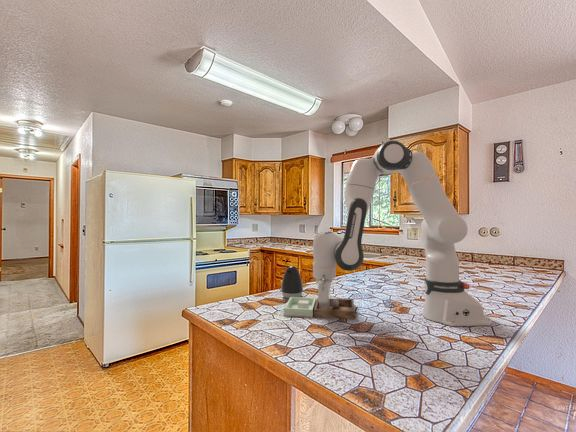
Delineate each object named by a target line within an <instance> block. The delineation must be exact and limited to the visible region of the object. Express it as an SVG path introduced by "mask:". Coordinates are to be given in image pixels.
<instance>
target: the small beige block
mask: <svg viewBox="0 0 576 432" xmlns="http://www.w3.org/2000/svg"><path fill="white" fill-rule="evenodd" d="M298 308H302V309H309V301H306V300H299V302H298Z"/></svg>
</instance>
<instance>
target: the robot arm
mask: <svg viewBox="0 0 576 432" xmlns="http://www.w3.org/2000/svg"><path fill="white" fill-rule="evenodd" d="M396 172H397V173H398V174H399V175H401V176H402V178H403V179H404V182H405V184H406V186H407V189H408V191H409V193H410V196H411V199H412V201H413V203H414V206H415V207H416V208H417V210H418V211H419V213H420V214H421V215H422V217H423V220H422V222H421V223H420V230H421V234H422V242H423V248H424V254H425V278H424V292H425V296H424V297H425V298H424V303H423V309H422V310H421V311H422V312H421V315H422V317H423V318H424V319H427V320H430V321H433V322H436V323H441V324H444V325H446V326H449V327H465V326H466V327H469V326H470V327H474V326H476V327H478V326H479V327H480V326H492V324H493V322H492V319H491V318H490V317H489V316H488V315H486V314H485V313H484V312H485V311H484V308H483V305H482V304H481V303H480V302H479V300H477V299H476V298H474V297H473V296H472V295H471V294H469V293H468V292H467V291H466V290H470V289H471V285H470V284H469V283H467V282H463V281H462V280H460V259H459V256H458V255H457V254H458V253H457V252H456V251H457V250H456V248H455V247H456V246H455V244H457V243H460V242H461V241H463V240H464V239H465V238H466V236H467V235H468V231H469V230H468V225H467V223H466V221H465V220H464V218H462V217H461V216H460V215H459V213H458V211H457V209H456V208H455V206H454V205H453V203H452V202H451V201H450V199H449V197H448V196H447V194H446V192H445V190H444V187H443V185H442V183H441V181H440V178H439V176H438V174H437V172H436V169H435V168H434V165H433V164H432V163H431V160H430V159H429V158H428V156H427V154H425V153H424V152H422V151H412V150H410V148H408V147H406V146H405V145H404V144H403V143H402V142H401V141H398V140H387V141H386V142H384V143H382V144H381V145H380V146H379V147H378V148H377V149H376V150H375V152H374V154H373V155H372V157H371V158H366V157H365V158H364V157H363V158H358V159H356V160H355V161H353V163H352V165H351V167H350V170H349V172H348V176H347V180H346V183H345V189H344V204H345V207H346V212H347V218H346V225H345V229H344V235H343V237H341V236H339V235H337V234H336V233H334V232H333V231H324V232H318V233H317V234H316V235H315V236H314V237H313V240H312V241H313V242H312V256H313V263H312V277H313V279H315V281H316V283H317V287H318V288H317V289H318V290H317V298H318V302H319V303H321V304H322V309H324V310H327V303H328V299H329V298H330V291H331V285H332V283H333V279H334V280H335V279H336V277H337V275H336V274H337V273H336V272H337V271H336V268H337V267H336V265H337V266H338V268H340V269H342V270H344V271H349V272H350V271H355V270H357V269H358V268H360V266H361V265H362V264H363V263H364V251H363V245H362V238H363V233H364V228H365V223H366V217H367V214H368V212H369V209H370V206H371V204H372V201H373V199H374V195H375V189H376V183H377V180H378V178H379V177H385V176H389V175H392V174H394V173H396Z"/></svg>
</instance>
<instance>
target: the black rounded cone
mask: <svg viewBox="0 0 576 432" xmlns="http://www.w3.org/2000/svg"><path fill="white" fill-rule="evenodd" d="M303 285H304V284H303V279H302V277H301V274H300V272H299V269H298V268H297V267H296V266H294V265H289V266H288V267H287V268H286V269H285V271H284V274H283V277H282V281H281V287H280V290H281V294H282V296H283V298H285V299H288V300H289V299H290V297H301V296H302V294H303V291H304V286H303Z"/></svg>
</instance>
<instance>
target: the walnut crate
mask: <svg viewBox="0 0 576 432" xmlns="http://www.w3.org/2000/svg"><path fill="white" fill-rule="evenodd" d="M329 299H330V310H324V309H319V302H318V297H316V304H315V308H314V314H313V317H314V318H326V319H342V320H343V319H346V320H347V319H348V320H356V311H355V310H356V309H355V303H354V302H355V301H354V299H353V298H336V299H337V300H338V301H339V306H338V307H336V308H334V307H332V306H331V301H332V300H333V299H334V298H330V297H329Z"/></svg>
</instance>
